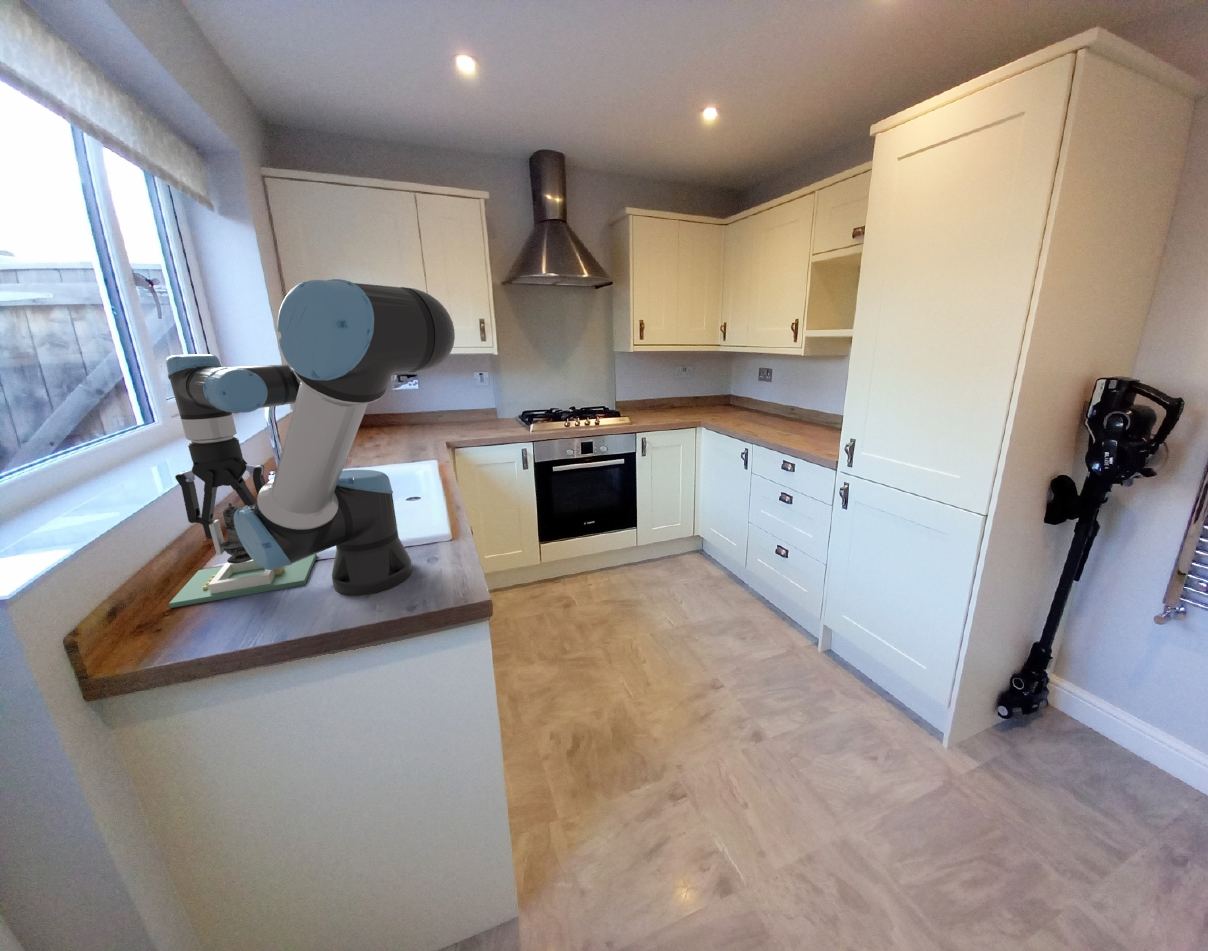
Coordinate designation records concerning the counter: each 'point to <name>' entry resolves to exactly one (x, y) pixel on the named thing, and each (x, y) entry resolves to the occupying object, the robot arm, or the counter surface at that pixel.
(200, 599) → the header board
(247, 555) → the dark grey tiered ornament
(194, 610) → the counter surface
